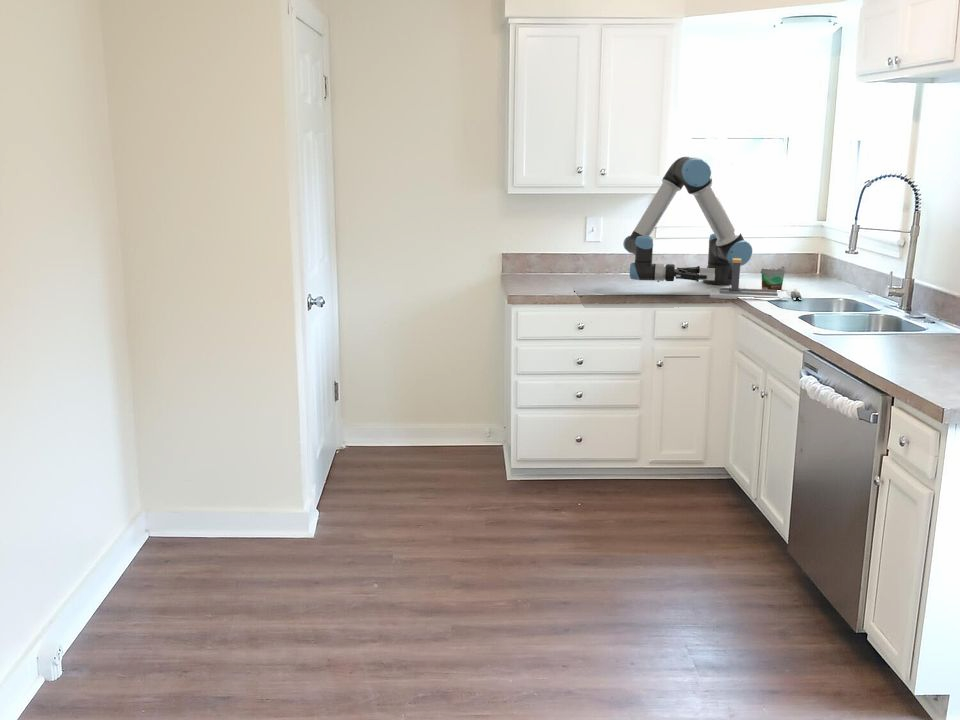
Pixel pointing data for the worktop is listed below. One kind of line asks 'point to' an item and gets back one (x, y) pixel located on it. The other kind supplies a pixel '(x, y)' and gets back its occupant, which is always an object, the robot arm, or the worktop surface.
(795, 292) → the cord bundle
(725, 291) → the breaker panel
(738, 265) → the lever
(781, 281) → the food container
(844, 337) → the worktop surface
